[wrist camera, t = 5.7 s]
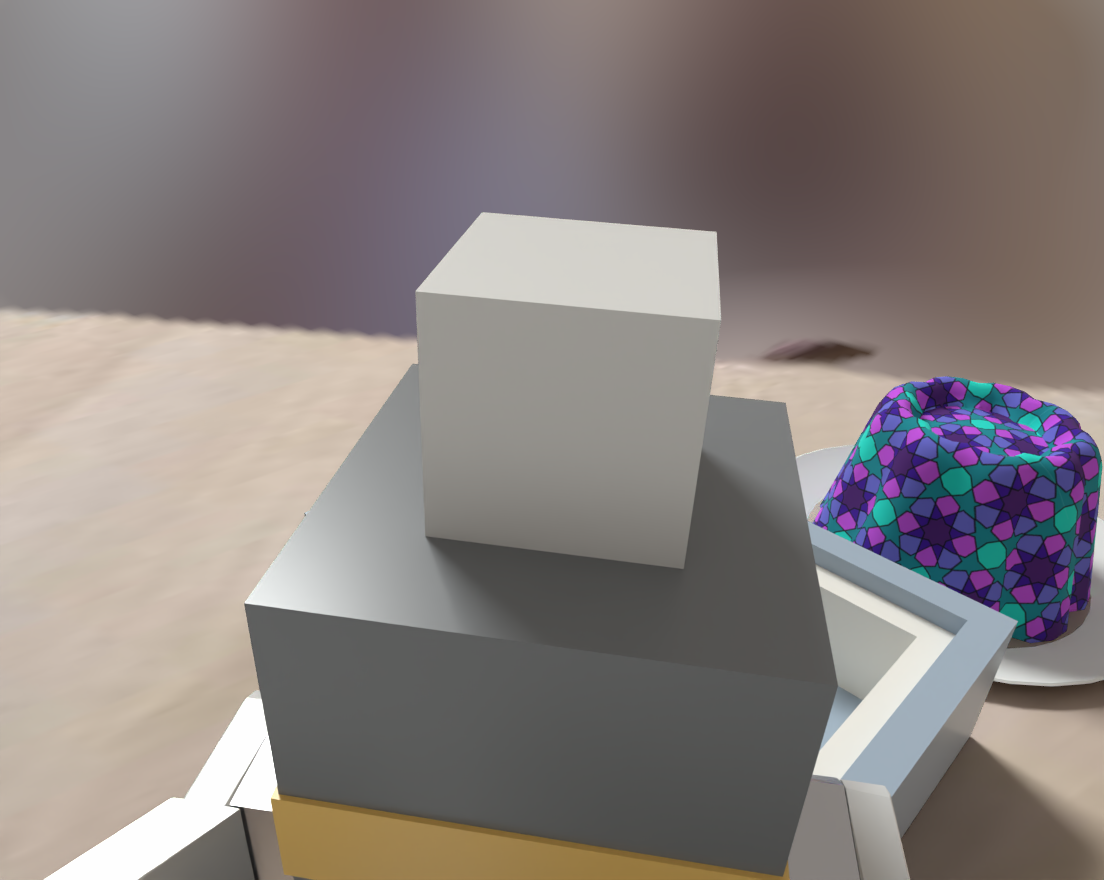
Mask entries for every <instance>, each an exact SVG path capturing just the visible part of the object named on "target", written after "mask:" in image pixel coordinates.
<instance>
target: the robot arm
mask: <svg viewBox="0 0 1104 880" xmlns="http://www.w3.org/2000/svg"><path fill="white" fill-rule="evenodd" d="M276 785H277V783H276V778H275V772H274V767H273V761H272V756H271V750H270V744H269V739H268V733H267V728H266V722H265V717H264V711H263V705H262V700H261V694H260V691H257V690H255V691H254V692H253V693H252V694H251V695H250V696H248V697H247V698H246V699H245V700H244V701H243V703H242V704H241V706H240V708H239V709H238V711H237V713H236V714H235V716H234V717H233V719H232V721H231V722H230V724H229V726H228V727H227V729H226V730H225V732H224V734H223V735H222V737H221V739H220V740H219V742H218V743H217V745H216V747H215V748H214V750H213V752H212V753H211V755H210V757H209V758H208V760H207V761H206V763H205V765H204V766H203V768H202V770H201V771H200V773H199V774H198V776H197V778H196V779H195V781H194V783H193V784H192V786H191V787H190V789H189V791H188V792H187V794H186V796H185V797H184V799H182V798H174V797H171V798H170V799H168V800H167V801H165V802H164V803H162V804H161V805H159V806H157V807H156V808H154V809H153V810H151V811H150V812H148V813H147V814H145V815H143V816H142V817H140V818H139V819H137V820H136V821H134V822H133V823H131V824H129V825H128V826H126V827H125V828H123V829H122V830H120V831H119V832H117V833H115V834H114V835H112V836H111V837H109V838H108V839H106V840H105V841H103V842H101V843H100V844H98V845H97V846H95V847H94V848H92V849H91V850H89V851H87V852H86V853H84V854H83V855H81V856H80V857H78V858H77V859H75V860H73V861H72V862H70V863H69V864H67V865H66V866H64V867H63V868H61V869H59V870H58V871H56V872H55V873H53V874H52V875H50V876H49V877H47V878H45V879H44V880H294V878H293V876H290V875H284V871H283V866H282V861H281V855H280V850H279V845H278V839H277V834H276V829H275V823H274V818H273V813H272V807H271V802H270V797H271V795H272V793H273V791H274V789H275V787H276ZM788 867H789V877H790V880H910V876H909V872H908V868H907V864H906V859H905V855H904V851H903V846H902V842H901V838H900V833H899V829H898V825H897V820H896V816H895V812H894V807H893V803H892V799H891V794H890V793H889V791H888V790H887V788H886V787H885V786H883V785H876V784H870V783H863V782H856V781H850V780H843V779H840V780H839V779H838V778H835V777H827V776H820V775H813V774H812V778H811V781H810V785H809V788H808V792H807V795H806V799H805V802H804V805H803V809H802V812H801V816H800V819H799V823H798V826H797V830H796V833H795V836H794V840H793V843H792V847H791V850H790V854H789V857H788Z"/></svg>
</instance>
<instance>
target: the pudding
mask: <svg viewBox="0 0 1104 880" xmlns="http://www.w3.org/2000/svg"><path fill="white" fill-rule="evenodd" d="M796 462H797V468H798V473H799V478H800V484H801V489H802V494H803V500H804V505H805V511H806V516H807V520H808V516H809V514H810V512H811V511H812V509H813V508H814V506H815V505H816V504H817V503H818V502H819V501H820V500H822V499H823V498H824V497H825V498H824V500H823V501H822V503H821V505H820V507H821V510H820V511H819V513H818V515H817V517H816V518H815V520H814V522H813V524H815V525H817V526H819V527H821V528H823V529H825V530H827V531H830V532H832V533H834V534H836V535H838V536H840V537H842V538H844V539H846V540H848V541H851V542H853V543H855V544H857V545H859V546H861V547H863V548H865V549H867V550H869V551H872V552H874V553H876V554H878V555H880V556H882V557H884V558H886V559H888V560H890V561H893V562H895V563H897V564H899V565H901V566H903V567H905V568H907V569H909V570H911V571H914V572H916V573H918V574H920V575H922V576H924V577H926V578H928V579H930V580H932V581H935V582H937V583H939V584H941V585H943V586H945V587H947V588H949V589H951V590H953V591H956V592H958V593H960V594H962V595H964V596H966V597H968V598H970V599H972V600H974V601H977V602H979V603H981V604H983V605H985V606H987V607H989V608H991V609H993V610H995V611H998V612H1000V613H1002V614H1004V615H1006V616H1008V617H1010V618H1012V619H1014V620H1016V621H1018V622H1017V625H1016V627H1015V630H1014V632H1013V635H1012V638H1015V639H1019V640H1022V641H1025V642H1029V643H1034V642H1043V641H1052V640H1054V639H1056V638H1057V637H1059V636H1060V635H1061V634H1063V633H1064V632H1066V631H1067V624H1068V616H1069V612H1072V611H1078V610H1083V609H1085V607H1086V605H1087V602H1088V600H1089V598H1090V595H1091V603H1090V611H1089V613H1088V615H1087V617H1086V619H1085V621H1084V623H1083V624H1082V625H1081V626H1080V627H1078V628H1077V629H1076V630H1075V631H1074V632H1073V633H1072V634H1070V635H1068V636H1066V637H1064V638H1062V639H1059V640H1057V641H1055V642H1051V643H1047V644H1043V645H1039V646H1035V647H1023V648H1007V649H1006V651H1005V654H1004V656H1003V659H1002V661H1001V664H1000V666H999V668H998V671H997V673H996V676H995V678H994V680H993V681H997V682H1002V683H1008V684H1021V685H1037V686H1064V685H1077V684H1090V683H1094V682H1098V681H1101V680H1104V520H1102V519H1101V518H1099V517H1098V506H1099V496H1100V485H1101V475H1102V460H1101V456H1100V452H1099V449H1098V447H1097V445H1096V443H1095V441H1094V440H1093V439H1092V437H1091V436H1090V435H1089V434H1088V433H1086V432H1085V431H1083V430H1081V427H1080V423H1079V422H1078V421H1077V420H1076V418H1074V417H1073V416H1072V415H1071V414H1070V413H1069V412H1068V411H1066V410H1064V409H1062V408H1060V407H1058V406H1056V405H1054V404H1051V403H1047V402H1043V401H1039V400H1036V399H1034V398H1032V397H1031V396H1030V395H1028V394H1027V393H1026V392H1024V391H1021V390H1019V389H1016V388H1013V387H1010V386H1006V385H1001V384H996V383H976V382H973V381H970V380H967V379H964V378H956V377H936V378H932V379H930V380H928V381H927V382H909V383H906V384H902V385H899V386H897V387H894V388H893V389H892V390H891V391H890V392H889V393H888V394H887V395H886V396H885V397H884V398H883V399H882V401H881V402H880V403H879V404H878V406H877V407H876V409H875V411H874V413H873V414H872V416H871V418H870V420H869V421H868V423H867V425H866V427H865V428H864V430H863V432H862V433H861V435H860V437H859V439H858V440H857V442H856V444H855V445H846V446H838V447H831V448H824V449H820V450H817V451H813V452H809V453H806V454H802V455H800V456H798V457H796Z"/></svg>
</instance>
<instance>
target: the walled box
mask: <svg viewBox="0 0 1104 880" xmlns="http://www.w3.org/2000/svg"><path fill="white" fill-rule="evenodd" d="M308 512H309V511H308ZM308 512H306V513H304V514H305V516H306V515H307V513H308ZM808 527H809V532H810V537H811V543H812V548H813V554H814V559H815V564H816V570H817V575H818V580H819V586H820V591H821V596H822V602H823V607H824V613H825V618H826V623H827V629H828V634H829V639H830V645H831V650H832V656H833V661H834V666H835V672H836V677H837V682H838V688H837V692H836V695H835V698H834V702H833V705H832V709H831V712H830V716H829V719H828V723H827V726H826V729H825V733H824V736H823V740H822V743H821V747H820V750H819V754H818V757H817V761H816V764H815V767H814V771H813V775H820V776H827V777H835V778H838V779H839V780H840V779H843V780H850V781H856V782H863V783H870V784H876V785H883V786H885V787H886V788H887V790H888V791H889V793H890V794H891V799H892V803H893V807H894V812H895V816H896V820H897V825H898V829H899V833H900V838H902V837H903V835H904V834H905V832H906V831H907V829H908V828H909V826H910V825H911V823H912V822H913V820H914V819H915V817H916V816H917V814H918V813H919V811H920V810H921V808H922V807H923V805H924V804H925V802H926V801H927V799H928V798H929V796H930V795H931V793H932V792H933V791H934V789H935V788H936V786H937V785H938V783H939V782H940V780H941V779H942V777H943V776H944V774H945V773H946V771H947V770H948V768H949V767H950V765H951V764H952V762H953V761H954V759H955V758H956V756H957V755H958V753H959V752H960V750H961V749H962V747H963V746H964V744H965V743H966V741H967V740H968V739H969V737H970V736H971V734H972V731H973V729H974V726H975V724H976V721H977V719H978V717H979V714H980V712H981V709H982V707H983V705H984V702H985V700H986V697H987V695H988V692H989V690H990V688H991V685H992V683H993V680H994V678H995V676H996V673H997V671H998V668H999V666H1000V664H1001V661H1002V659H1003V656H1004V654H1005V651H1006V649H1007V647H1008V644H1009V642H1010V639H1011V637H1012V635H1013V632H1014V630H1015V627H1016V625H1017V622H1018V621H1016V620H1014V619H1012V618H1010V617H1008V616H1006V615H1004V614H1002V613H1000V612H998V611H995V610H993V609H991V608H989V607H987V606H985V605H983V604H981V603H979V602H977V601H974V600H972V599H970V598H968V597H966V596H964V595H962V594H960V593H958V592H956V591H953V590H951V589H949V588H947V587H945V586H943V585H941V584H939V583H937V582H935V581H932V580H930V579H928V578H926V577H924V576H922V575H920V574H918V573H916V572H914V571H911V570H909V569H907V568H905V567H903V566H901V565H899V564H897V563H895V562H893V561H890V560H888V559H886V558H884V557H882V556H880V555H878V554H876V553H874V552H872V551H869V550H867V549H865V548H863V547H861V546H859V545H857V544H855V543H853V542H851V541H848V540H846V539H844V538H842V537H840V536H838V535H836V534H834V533H832V532H830V531H827V530H825V529H823V528H821V527H819V526H817V525H815V524H813V523H811V522H809V521H808Z"/></svg>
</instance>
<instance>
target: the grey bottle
mask: <svg viewBox="0 0 1104 880" xmlns="http://www.w3.org/2000/svg"><path fill="white" fill-rule="evenodd" d="M415 292H416V317H417V342H418V364H412V365H411V367H410V368H409V370H408V371H407V372H406V374H405V375H404V377H403V378H402V379H401V381H400V382H399V384H398V385H397V387H396V388H395V389H394V391H393V392H392V394H391V395H390V397H389V398H388V399H387V401H386V402H385V404H384V405H383V407H382V408H381V409H380V411H379V412H378V414H377V415H376V416H375V418H374V419H373V421H372V422H371V424H370V425H369V426H368V428H367V429H366V431H365V432H364V434H363V435H362V436H361V438H360V439H359V441H358V442H357V443H356V445H355V446H354V448H353V449H352V451H351V452H350V453H349V455H348V456H347V458H346V459H345V461H344V462H343V463H342V465H341V466H340V468H339V469H338V471H337V472H336V473H335V475H334V476H333V478H332V479H331V480H330V482H329V483H328V485H327V486H326V488H325V489H324V490H323V492H322V493H321V495H320V496H319V498H318V499H317V500H316V502H315V503H314V505H313V506H312V507H311V509H310V510H309V512H308V513H307V515H306V516H305V517H304V519H303V520H302V522H301V523H300V525H299V526H298V527H297V529H296V530H295V532H294V533H293V535H292V536H291V537H290V539H289V540H288V542H287V543H286V544H285V546H284V547H283V549H282V550H281V552H280V553H279V554H278V556H277V557H276V559H275V560H274V562H273V563H272V564H271V566H270V567H269V569H268V570H267V571H266V573H265V574H264V576H263V577H262V579H261V580H260V581H259V583H258V584H257V586H256V587H255V589H254V590H253V591H252V593H251V594H250V596H249V597H248V599H247V600H246V601H245V603H244V605H245V611H246V616H247V622H248V627H249V633H250V638H251V644H252V650H253V655H254V661H255V666H256V672H257V678H258V683H259V689H260V694H261V700H262V705H263V711H264V717H265V722H266V728H267V733H268V739H269V744H270V750H271V756H272V761H273V767H274V772H275V778H276V783H277V785H276V787H275V789H274V791H273V793H272V795H271V797H270V802H271V807H272V813H273V818H274V823H275V829H276V834H277V839H278V845H279V850H280V855H281V861H282V866H283V871H284V875H290V876H293V878H294V880H790V877H789V867H788V857H789V854H790V850H791V847H792V843H793V840H794V836H795V833H796V830H797V826H798V823H799V819H800V816H801V812H802V809H803V805H804V802H805V799H806V795H807V792H808V788H809V785H810V781H811V778H812V774H813V771H814V767H815V764H816V761H817V757H818V754H819V750H820V747H821V743H822V740H823V736H824V733H825V729H826V726H827V723H828V719H829V716H830V712H831V709H832V705H833V702H834V698H835V695H836V692H837V688H838V682H837V677H836V672H835V666H834V661H833V656H832V650H831V645H830V639H829V634H828V629H827V623H826V618H825V613H824V607H823V602H822V596H821V591H820V586H819V580H818V575H817V570H816V564H815V559H814V554H813V548H812V543H811V537H810V532H809V527H808V521H807V516H806V511H805V505H804V500H803V494H802V489H801V484H800V478H799V473H798V468H797V462H796V457H795V452H794V446H793V441H792V435H791V430H790V425H789V419H788V414H787V409H786V403H782V402H773V401H763V400H754V399H744V398H735V397H725V396H715V395H710V391H711V384H712V377H713V371H714V364H715V357H716V351H717V344H718V337H719V331H720V324H721V311H720V291H719V272H718V253H717V234H716V232H711V231H699V230H686V229H675V228H662V227H651V226H638V225H627V224H615V223H603V222H591V221H579V220H567V219H555V218H543V217H531V216H519V215H507V214H496V213H495V214H494V213H483V212H482V213H481V214H480V216H479V217H478V218H477V219H476V220H475V222H474V223H473V224H472V225H471V226H470V227H469V229H468V230H467V231H466V232H465V233H464V234H463V236H462V237H461V238H460V239H459V240H458V242H457V243H456V244H455V245H454V246H453V248H452V249H451V250H450V251H449V252H448V254H447V255H446V256H445V257H444V258H443V259H442V261H441V262H440V263H439V264H438V265H437V267H436V268H435V269H434V270H433V271H432V272H431V274H430V275H429V276H428V277H427V278H426V280H425V281H424V282H423V283H422V284H421V285H420V287H419V288H418V289H417V290H416V291H415Z"/></svg>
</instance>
